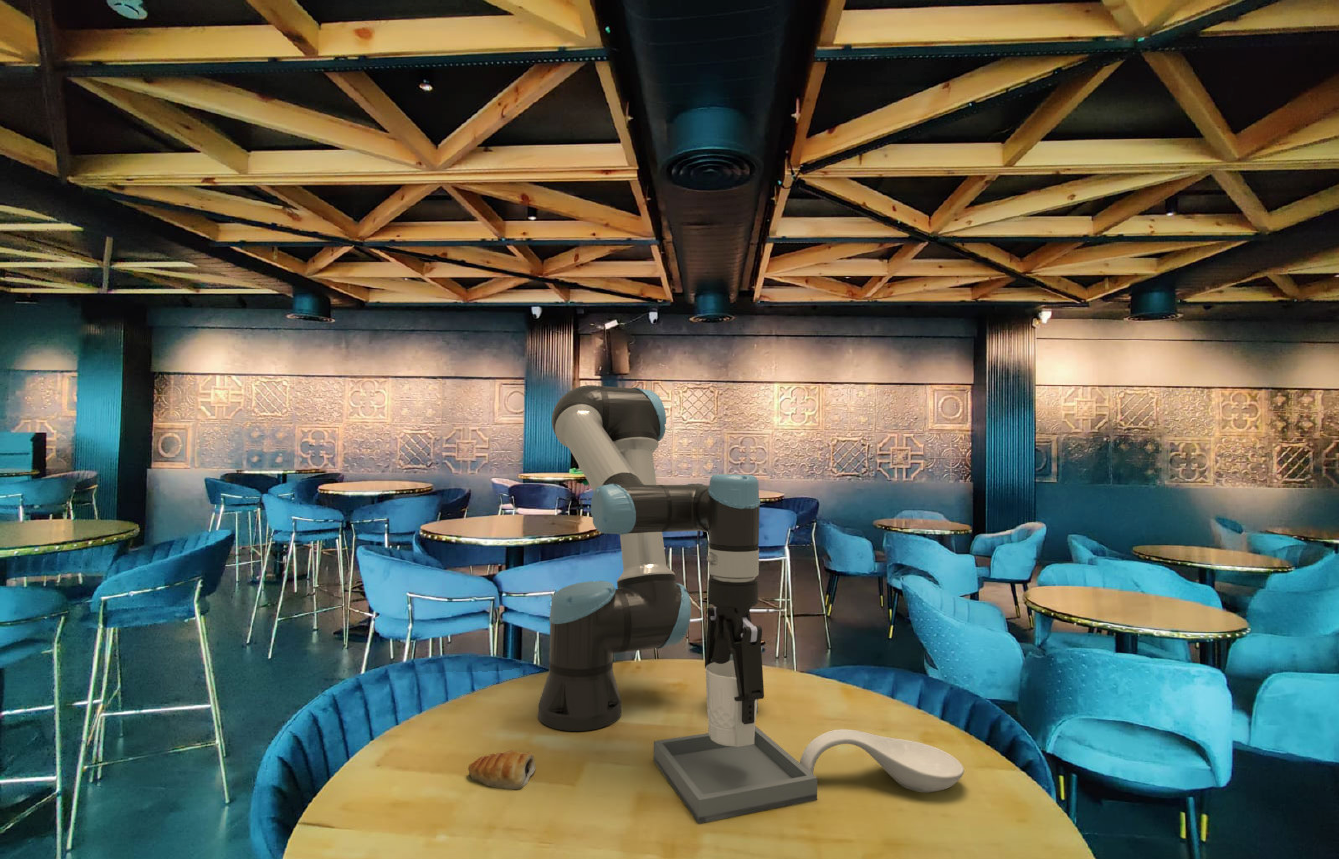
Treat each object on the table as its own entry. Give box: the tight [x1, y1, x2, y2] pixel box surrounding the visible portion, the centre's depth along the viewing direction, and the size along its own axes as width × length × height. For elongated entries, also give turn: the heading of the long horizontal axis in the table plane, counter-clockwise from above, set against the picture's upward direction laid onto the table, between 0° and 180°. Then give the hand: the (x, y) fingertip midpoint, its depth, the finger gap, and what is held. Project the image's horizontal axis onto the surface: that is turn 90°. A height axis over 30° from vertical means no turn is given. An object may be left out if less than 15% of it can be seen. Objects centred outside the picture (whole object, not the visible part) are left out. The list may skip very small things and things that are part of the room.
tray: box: [653, 725, 818, 824], centre depth 94 cm, size 18×18×3 cm
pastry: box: [467, 750, 536, 790], centre depth 93 cm, size 9×7×4 cm
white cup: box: [705, 661, 757, 747], centre depth 94 cm, size 8×8×10 cm
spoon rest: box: [799, 728, 965, 793], centre depth 94 cm, size 24×12×7 cm, turn 93°
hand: (731, 732), depth 94 cm, fingers closed on white cup, 7 cm apart
